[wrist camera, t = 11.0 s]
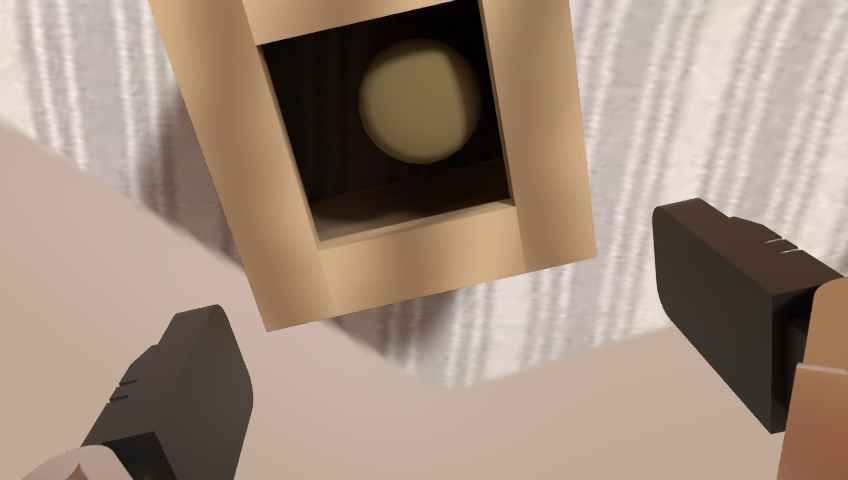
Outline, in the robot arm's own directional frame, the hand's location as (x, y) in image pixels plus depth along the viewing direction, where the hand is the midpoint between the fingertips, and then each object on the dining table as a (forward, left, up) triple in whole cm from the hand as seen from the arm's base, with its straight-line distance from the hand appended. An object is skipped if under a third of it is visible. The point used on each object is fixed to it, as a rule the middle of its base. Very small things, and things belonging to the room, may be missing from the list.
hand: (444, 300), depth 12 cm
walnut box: (0, 0, -26) cm, 26 cm away
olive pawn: (-1, 0, -26) cm, 26 cm away
